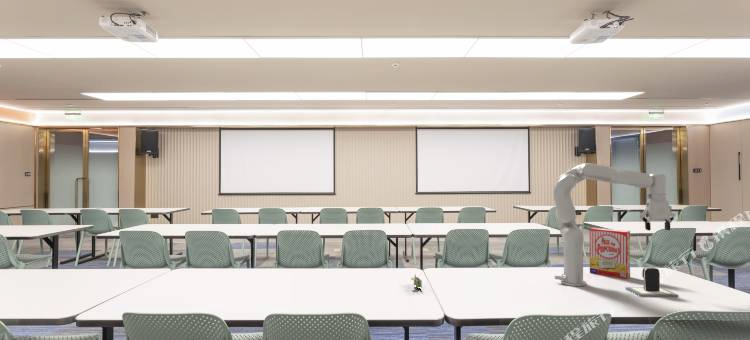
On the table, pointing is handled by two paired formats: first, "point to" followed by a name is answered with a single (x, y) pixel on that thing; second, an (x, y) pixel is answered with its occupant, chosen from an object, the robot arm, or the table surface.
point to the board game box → (610, 252)
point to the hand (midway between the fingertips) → (657, 230)
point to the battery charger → (651, 279)
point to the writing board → (651, 292)
